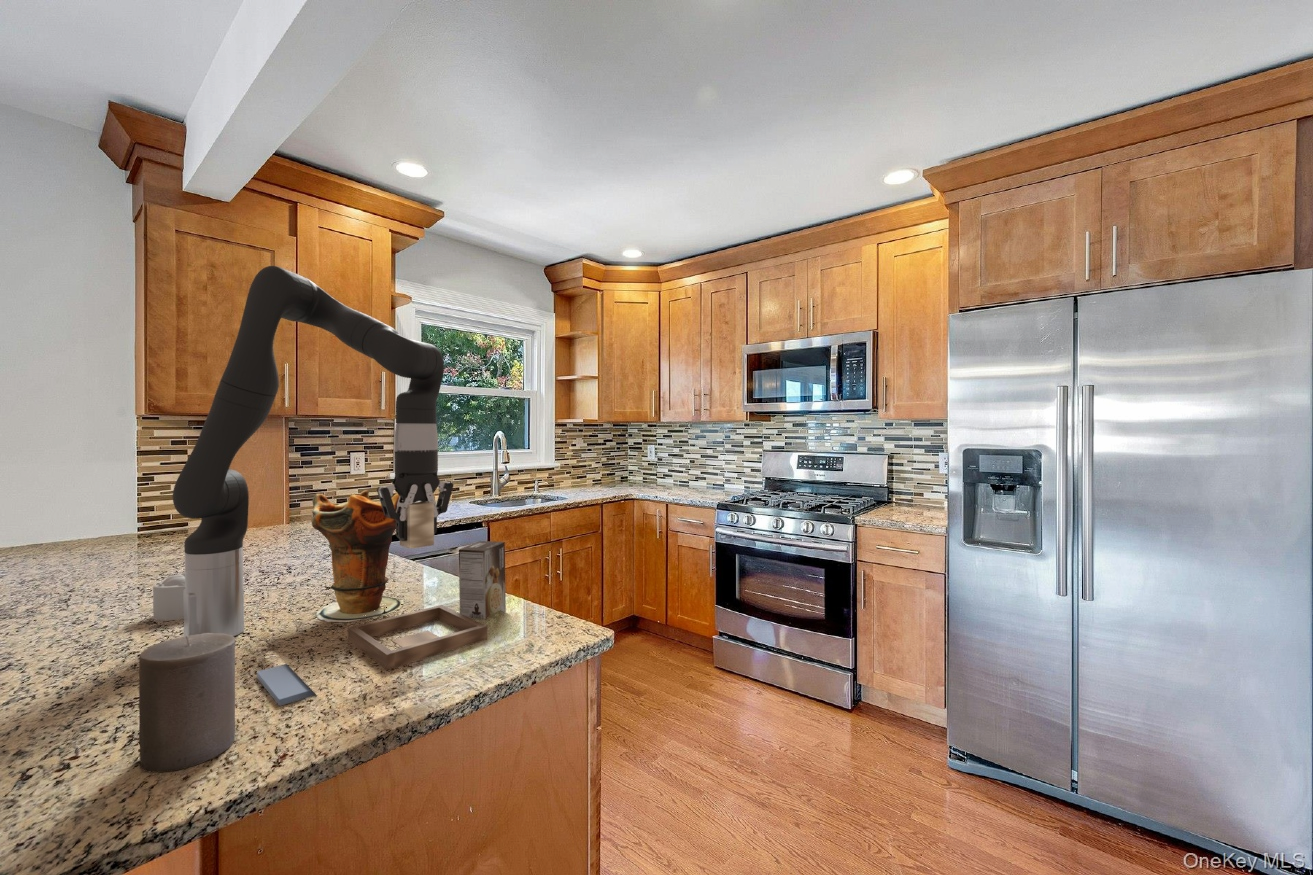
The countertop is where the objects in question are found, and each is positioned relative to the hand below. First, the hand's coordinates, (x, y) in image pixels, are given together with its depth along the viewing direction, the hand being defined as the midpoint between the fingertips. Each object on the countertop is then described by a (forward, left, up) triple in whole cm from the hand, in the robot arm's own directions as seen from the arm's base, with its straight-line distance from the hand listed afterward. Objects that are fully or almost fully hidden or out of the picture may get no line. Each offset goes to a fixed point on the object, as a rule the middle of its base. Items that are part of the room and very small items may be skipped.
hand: (416, 538), depth 107 cm
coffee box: (+17, +6, -21) cm, 28 cm away
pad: (-17, 0, -21) cm, 27 cm away
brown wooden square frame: (0, 0, -21) cm, 21 cm away
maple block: (0, 0, -1) cm, 1 cm away
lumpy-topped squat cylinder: (-26, +58, -21) cm, 67 cm away
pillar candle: (-35, -12, -21) cm, 43 cm away
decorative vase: (+1, +32, -21) cm, 38 cm away
